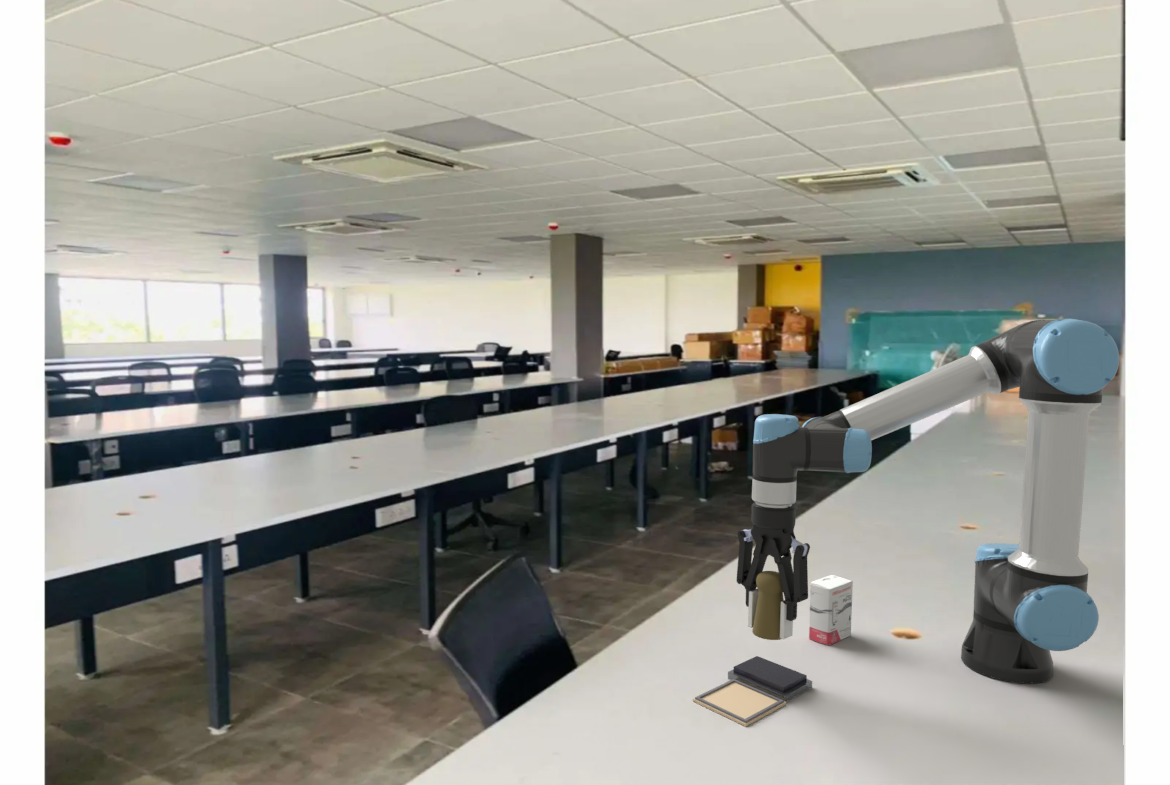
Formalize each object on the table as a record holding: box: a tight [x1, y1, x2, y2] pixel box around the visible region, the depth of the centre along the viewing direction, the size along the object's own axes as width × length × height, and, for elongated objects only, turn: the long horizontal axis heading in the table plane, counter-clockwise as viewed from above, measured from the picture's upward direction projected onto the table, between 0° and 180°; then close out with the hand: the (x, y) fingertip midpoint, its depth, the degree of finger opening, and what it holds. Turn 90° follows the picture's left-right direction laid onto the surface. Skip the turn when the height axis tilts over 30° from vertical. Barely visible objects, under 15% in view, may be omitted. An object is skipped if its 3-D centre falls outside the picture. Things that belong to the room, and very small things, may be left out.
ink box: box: [808, 574, 854, 646], centre depth 156 cm, size 9×5×12 cm, turn 129°
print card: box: [692, 679, 787, 727], centre depth 129 cm, size 11×11×1 cm
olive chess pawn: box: [751, 570, 785, 641], centre depth 135 cm, size 6×6×11 cm
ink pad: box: [727, 655, 813, 703], centre depth 136 cm, size 12×8×2 cm
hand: (769, 630), depth 136 cm, fingers closed on olive chess pawn, 6 cm apart
